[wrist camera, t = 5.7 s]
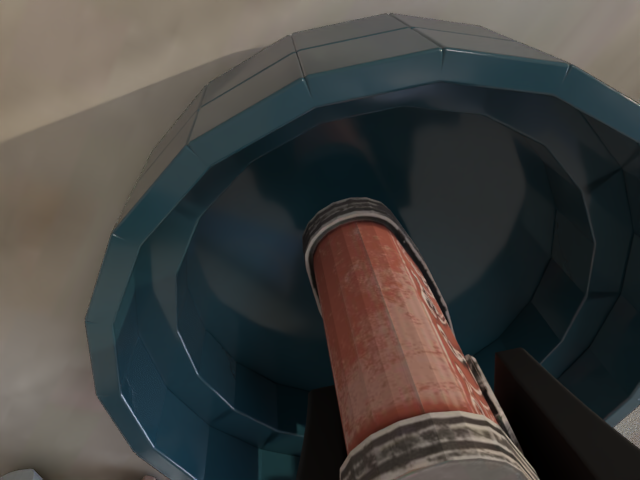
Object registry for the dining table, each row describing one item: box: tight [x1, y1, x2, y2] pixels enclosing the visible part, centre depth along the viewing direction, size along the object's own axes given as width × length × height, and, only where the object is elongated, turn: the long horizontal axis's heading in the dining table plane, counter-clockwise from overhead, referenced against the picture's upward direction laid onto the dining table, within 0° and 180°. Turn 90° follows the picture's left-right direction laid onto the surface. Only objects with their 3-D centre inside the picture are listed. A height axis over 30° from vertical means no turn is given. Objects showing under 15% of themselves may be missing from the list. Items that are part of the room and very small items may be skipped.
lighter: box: [302, 197, 540, 480], centre depth 10 cm, size 8×3×10 cm, turn 24°
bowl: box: [85, 13, 640, 480], centre depth 14 cm, size 15×15×4 cm
